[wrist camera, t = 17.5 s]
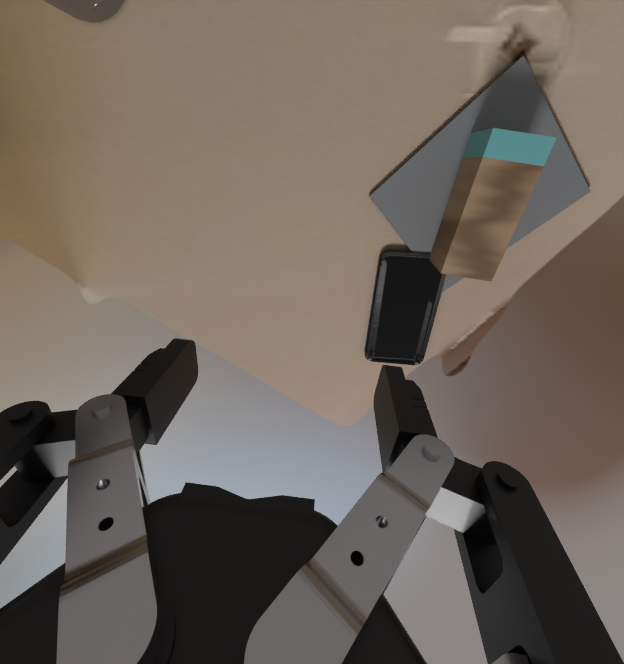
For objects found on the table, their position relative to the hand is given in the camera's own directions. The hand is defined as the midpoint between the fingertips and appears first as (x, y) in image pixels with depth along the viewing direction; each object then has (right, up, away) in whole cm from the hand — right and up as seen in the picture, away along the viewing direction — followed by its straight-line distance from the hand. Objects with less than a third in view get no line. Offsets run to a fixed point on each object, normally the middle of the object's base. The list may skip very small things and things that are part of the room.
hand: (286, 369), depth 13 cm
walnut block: (+16, +8, +19) cm, 26 cm away
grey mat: (+18, +16, +18) cm, 30 cm away
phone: (+13, +4, +26) cm, 29 cm away
